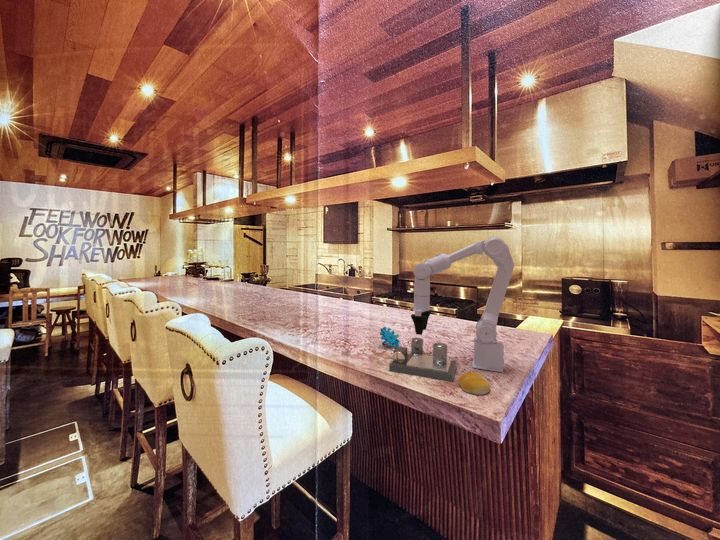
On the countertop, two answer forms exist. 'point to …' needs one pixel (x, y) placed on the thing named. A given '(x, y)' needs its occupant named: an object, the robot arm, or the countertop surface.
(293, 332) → the countertop surface
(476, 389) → the bread roll
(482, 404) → the countertop surface
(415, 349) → the cylinder
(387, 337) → the gear
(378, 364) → the countertop surface
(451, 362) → the grey fixture base
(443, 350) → the cylinder
